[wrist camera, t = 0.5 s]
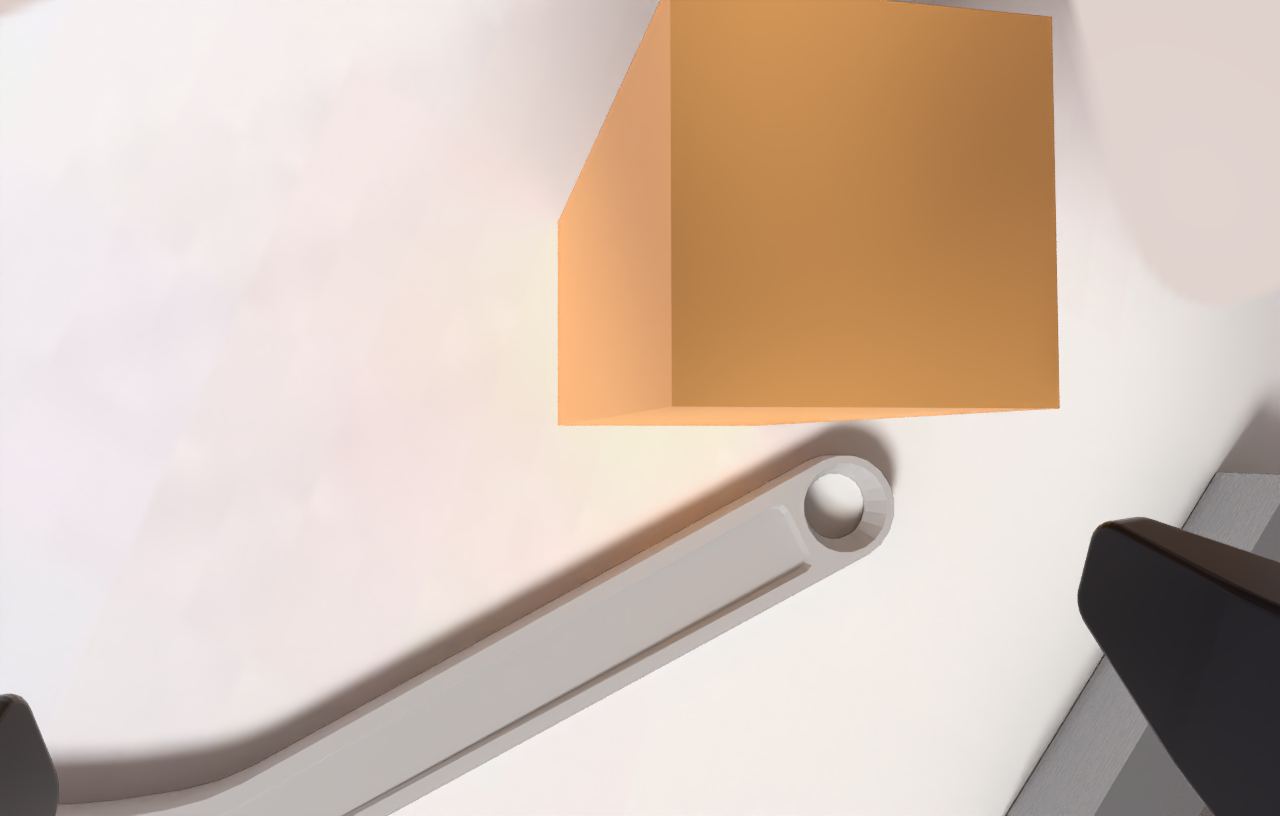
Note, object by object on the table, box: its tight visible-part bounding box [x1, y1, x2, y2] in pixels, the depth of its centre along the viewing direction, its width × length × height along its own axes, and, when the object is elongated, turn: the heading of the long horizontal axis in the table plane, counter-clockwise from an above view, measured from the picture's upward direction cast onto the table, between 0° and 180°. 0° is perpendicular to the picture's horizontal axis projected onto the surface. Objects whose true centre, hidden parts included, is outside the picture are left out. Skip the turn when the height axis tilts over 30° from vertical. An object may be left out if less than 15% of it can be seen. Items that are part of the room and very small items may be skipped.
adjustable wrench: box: [56, 455, 894, 816], centre depth 21 cm, size 25×6×2 cm, turn 112°
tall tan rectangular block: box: [558, 0, 1060, 426], centre depth 17 cm, size 5×5×12 cm
